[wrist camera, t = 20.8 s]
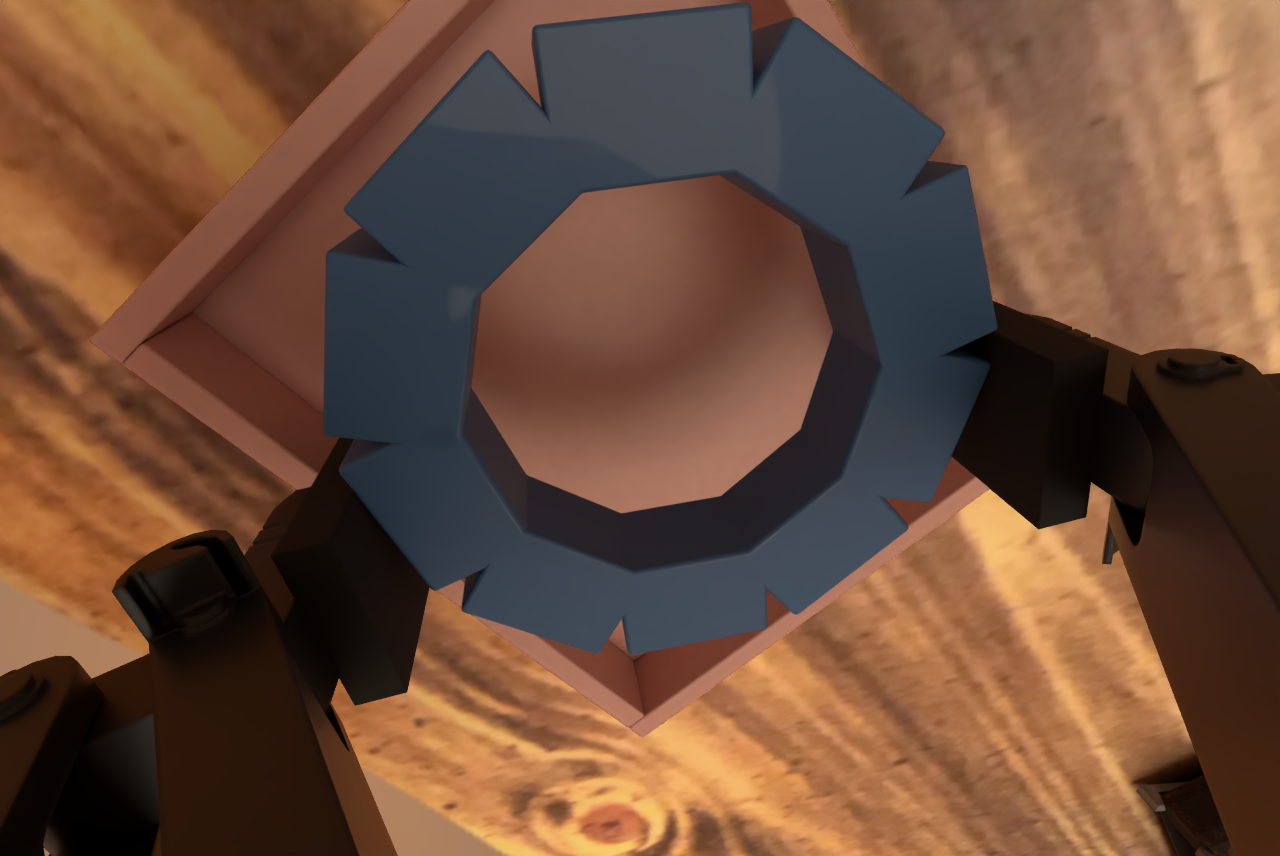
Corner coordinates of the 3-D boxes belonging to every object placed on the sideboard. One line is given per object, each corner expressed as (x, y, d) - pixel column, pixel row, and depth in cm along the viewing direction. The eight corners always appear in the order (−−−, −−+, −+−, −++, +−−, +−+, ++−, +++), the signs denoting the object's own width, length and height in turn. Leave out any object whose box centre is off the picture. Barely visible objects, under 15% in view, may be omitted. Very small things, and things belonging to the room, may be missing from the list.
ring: (346, 570, 12) (318, 642, 10) (368, -74, 8) (329, -118, 6) (821, 604, 14) (859, 668, 12) (1019, 104, 10) (1110, 104, 9)
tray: (158, 303, 14) (86, 340, 12) (644, -206, 11) (671, -281, 9) (630, 669, 20) (642, 739, 18) (1003, 390, 18) (1071, 431, 16)
